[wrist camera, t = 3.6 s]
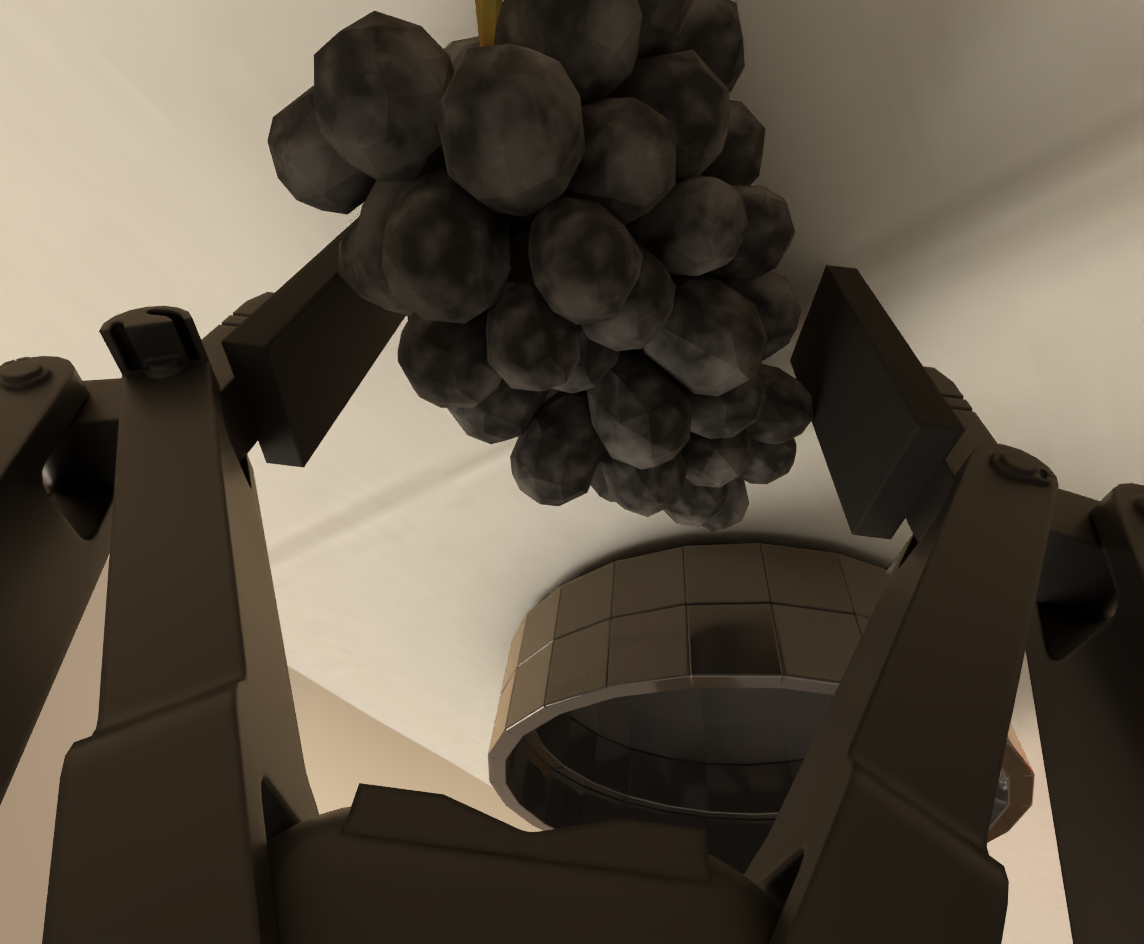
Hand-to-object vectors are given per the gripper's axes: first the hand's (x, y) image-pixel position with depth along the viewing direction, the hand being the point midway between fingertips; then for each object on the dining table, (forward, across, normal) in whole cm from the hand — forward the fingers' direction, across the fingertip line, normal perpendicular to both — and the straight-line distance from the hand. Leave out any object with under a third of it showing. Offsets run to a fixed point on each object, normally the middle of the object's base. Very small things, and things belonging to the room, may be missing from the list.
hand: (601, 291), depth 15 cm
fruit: (+1, 0, 0) cm, 1 cm away
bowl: (+1, +8, -20) cm, 22 cm away
